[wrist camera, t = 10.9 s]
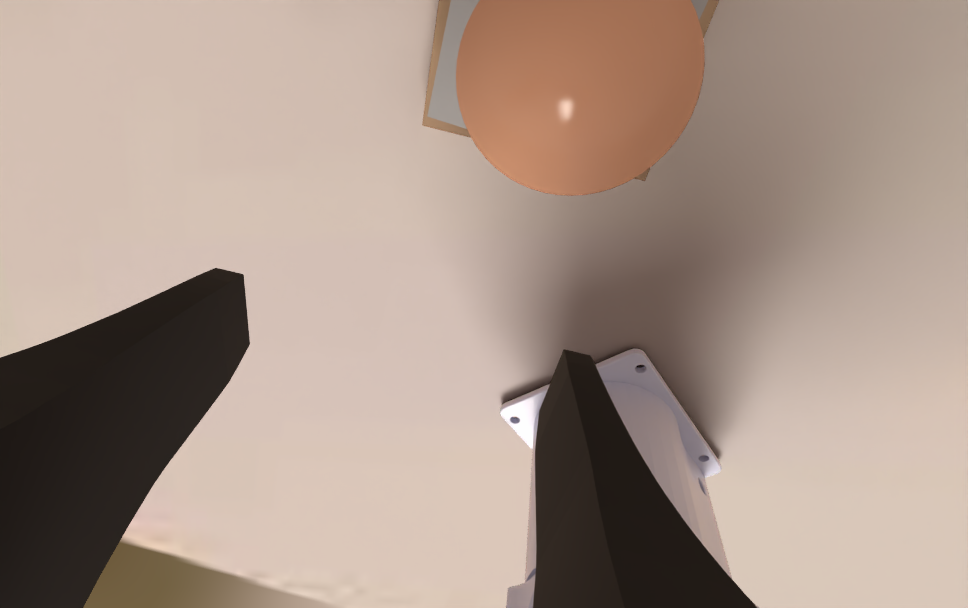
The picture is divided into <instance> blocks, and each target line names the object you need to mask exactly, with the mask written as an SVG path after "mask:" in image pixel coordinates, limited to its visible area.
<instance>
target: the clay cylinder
mask: <svg viewBox="0 0 968 608" xmlns="http://www.w3.org/2000/svg"><path fill="white" fill-rule="evenodd" d="M704 64H705V63H704V42H703V35H702V29H701V26H700V22H699V19H698V16H697V13H696V10H695V8H694V6H693V4H692V2H691V0H480V1H479V2H478V4H477V5H476V7H475V8H474V10H473V12H472V14H471V16H470V18H469V20H468V22H467V25H466V27H465V30H464V33H463V36H462V39H461V42H460V46H459V52H458V57H457V66H456V90H457V97H458V103H459V108H460V111H461V114H462V118H463V121H464V123H465V126H466V128H467V130H468V132H469V134H470V136H471V138H472V140H473V141H474V143H475V144H476V146H477V148H478V149H479V150H480V151H481V153H482V154H483V155H484V156H485V158H486V159H487V160H488V161H489V162H490V163H491V164H492V165H493V166H494V167H495V168H496V169H498V170H499V171H500V172H502V173H503V174H504V175H506V176H507V177H509V178H510V179H512V180H514V181H515V182H517V183H519V184H521V185H524V186H526V187H528V188H531V189H534V190H537V191H540V192H544V193H549V194H555V195H570V196H573V195H587V194H592V193H597V192H602V191H605V190H608V189H611V188H614V187H617V186H619V185H621V184H624V183H626V182H628V181H630V180H632V179H633V178H635V177H637V176H639V175H640V174H642V173H643V172H644V171H646V170H647V169H649V168H650V167H651V166H653V165H654V164H655V163H656V162H657V161H658V160H659V159H660V158H661V157H663V156H664V155H665V154H666V152H667V151H668V150H669V149H670V148H671V147H672V145H673V144H674V143H675V142H676V140H677V139H678V138H679V136H680V135H681V133H682V132H683V130H684V129H685V127H686V125H687V123H688V121H689V119H690V117H691V115H692V113H693V111H694V108H695V106H696V103H697V100H698V98H699V93H700V89H701V85H702V81H703V73H704Z"/></svg>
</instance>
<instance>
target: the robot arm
mask: <svg viewBox="0 0 968 608" xmlns="http://www.w3.org/2000/svg"><path fill="white" fill-rule="evenodd" d="M249 345H250V341H249V330H248V319H247V308H246V297H245V286H244V275H243V274H240V273H235V272H231V271H227V270H222V269H218V268H215V269H212V270H210V271H207V272H205V273H203V274H200V275H198V276H196V277H194V278H192V279H189V280H187V281H185V282H183V283H181V284H179V285H177V286H174V287H172V288H170V289H168V290H166V291H164V292H162V293H160V294H157V295H155V296H153V297H151V298H149V299H146V300H144V301H142V302H140V303H138V304H136V305H133V306H131V307H129V308H127V309H125V310H122V311H120V312H118V313H116V314H113V315H111V316H109V317H106V318H104V319H101V320H99V321H96V322H94V323H92V324H89V325H87V326H84V327H82V328H80V329H77V330H75V331H72V332H70V333H68V334H65V335H63V336H60V337H58V338H55V339H52V340H50V341H47V342H44V343H42V344H39V345H36V346H33V347H31V348H28V349H25V350H22V351H19V352H16V353H13V354H10V355H7V356H4V357H1V358H0V608H83V607H84V605H85V603H86V601H87V599H88V597H89V595H90V593H91V592H92V590H93V588H94V586H95V584H96V582H97V580H98V578H99V577H100V575H101V573H102V571H103V569H104V568H105V566H106V564H107V562H108V561H109V559H110V557H111V555H112V554H113V552H114V550H115V548H116V546H117V545H118V543H119V541H120V540H121V538H122V536H123V534H124V533H125V531H126V529H127V527H128V526H129V524H130V522H131V521H132V519H133V517H134V516H135V514H136V512H137V511H138V509H139V507H140V506H141V504H142V503H143V501H144V499H145V498H146V496H147V494H148V493H149V491H150V489H151V488H152V486H153V484H154V483H155V481H156V480H157V479H158V477H159V476H160V474H161V473H162V471H163V470H164V468H165V467H166V466H167V464H168V463H169V462H170V460H171V459H172V458H173V456H174V455H175V454H176V452H177V451H178V450H179V448H180V447H181V446H182V444H183V443H184V442H185V440H186V439H187V438H188V436H189V435H190V434H191V432H192V431H193V430H194V428H195V427H196V426H197V424H198V423H199V422H200V420H201V419H202V418H203V416H204V415H205V414H206V412H207V411H208V410H209V408H210V407H211V406H212V404H213V403H214V402H215V400H216V399H217V398H218V396H219V395H220V394H221V392H222V391H223V389H224V388H225V387H226V385H227V384H228V383H229V381H230V379H231V377H232V376H233V374H234V372H235V371H236V369H237V367H238V365H239V363H240V362H241V360H242V358H243V356H244V354H245V352H246V350H247V348H248V347H249ZM638 365H644V366H643V367H641V368H638V367H636V366H638ZM500 415H501V417H502V418H503V419H504V420H505V421H506V422H507V423H508V424H509V425H510V426H511V427H512V429H513V430H514V431H515V432H516V433H517V434H518V435H519V436H520V437H521V438H522V439H523V440H524V442H525V443H526V444H527V445H528V446H529V447H530V448H531V449H532V467H531V485H530V502H529V520H528V537H527V554H526V572H525V583H523V584H520V585H517V586H512V587H509V588H508V593H507V605H506V608H759V607H758V606H756V605H755V604H754V603H753V602H752V601H751V600H750V599H749V598H748V597H747V596H746V595H745V594H744V593H743V591H742V590H741V589H740V588H739V587H738V586H737V585H736V583H735V582H734V581H733V580H732V577H731V573H730V569H729V566H728V562H727V558H726V555H725V551H724V547H723V544H722V540H721V536H720V533H719V529H718V525H717V522H716V518H715V515H714V511H713V507H712V504H711V500H710V496H709V493H708V489H707V485H706V482H705V478H706V477H709V476H712V475H716V474H718V473H719V472H720V471H721V469H722V468H721V464H720V461H719V460H718V458H717V457H716V456H715V454H714V453H713V451H712V450H711V448H710V447H709V445H708V444H707V442H706V441H705V440H704V438H703V437H702V435H701V434H700V432H699V431H698V429H697V428H696V426H695V425H694V424H693V422H692V421H691V419H690V418H689V416H688V415H687V413H686V412H685V410H684V409H683V408H682V406H681V405H680V403H679V402H678V400H677V399H676V397H675V396H674V394H673V393H672V392H671V390H670V389H669V387H668V386H667V384H666V383H665V381H664V380H663V378H662V377H661V376H660V374H659V373H658V371H657V370H656V368H655V367H654V365H653V364H652V362H651V361H650V360H649V358H648V357H647V355H646V354H645V352H644V351H642V350H640V349H630V350H628V351H625V352H623V353H621V354H618V355H616V356H614V357H611V358H609V359H607V360H604V361H602V362H599V363H597V364H595V363H594V361H593V359H592V357H591V356H590V355H585V354H581V353H577V352H573V351H568V350H563V353H562V355H561V358H560V360H559V363H558V365H557V368H556V370H555V373H554V375H553V378H552V380H551V383H550V384H548V385H546V386H543V387H541V388H539V389H536V390H534V391H532V392H529V393H527V394H525V395H522V396H520V397H518V398H515V399H513V400H511V401H508V402H506V403H504V404H502V406H501V408H500ZM514 416H515V417H518V418H513V417H514ZM701 455H703V456H701Z"/></svg>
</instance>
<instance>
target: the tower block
mask: <svg viewBox="0 0 968 608" xmlns="http://www.w3.org/2000/svg"><path fill="white" fill-rule="evenodd" d="M479 1H480V0H451V2H450V7H449V12H448V17H447V22H446V27H445V32H444V37H443V42H442V47H441V51H440V56H439V61H438V66H437V71H436V76H435V81H434V86H433V91H432V96H431V101H430V105H429V110H428V115H427V116H428V117H431V118H434V119H437V120H440V121H443V122H446V123H450V124H453V125H456V126H459V127H462V128H465V129H467V128H466V126H465V123H464V121H463V118H462V114H461V111H460V108H459V103H458V97H457V90H456V66H457V57H458V52H459V46H460V42H461V39H462V36H463V33H464V30H465V27H466V25H467V22H468V20H469V18H470V16H471V14H472V12H473V10H474V8H475V7H476V5H477V4H478V2H479ZM691 2H692V4H693V6H694V8H695V10H696V13H697V16H698V19H700V17H701V15H702V13H703V11H704V9H705V6H706V4H707V2H708V0H691Z"/></svg>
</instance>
